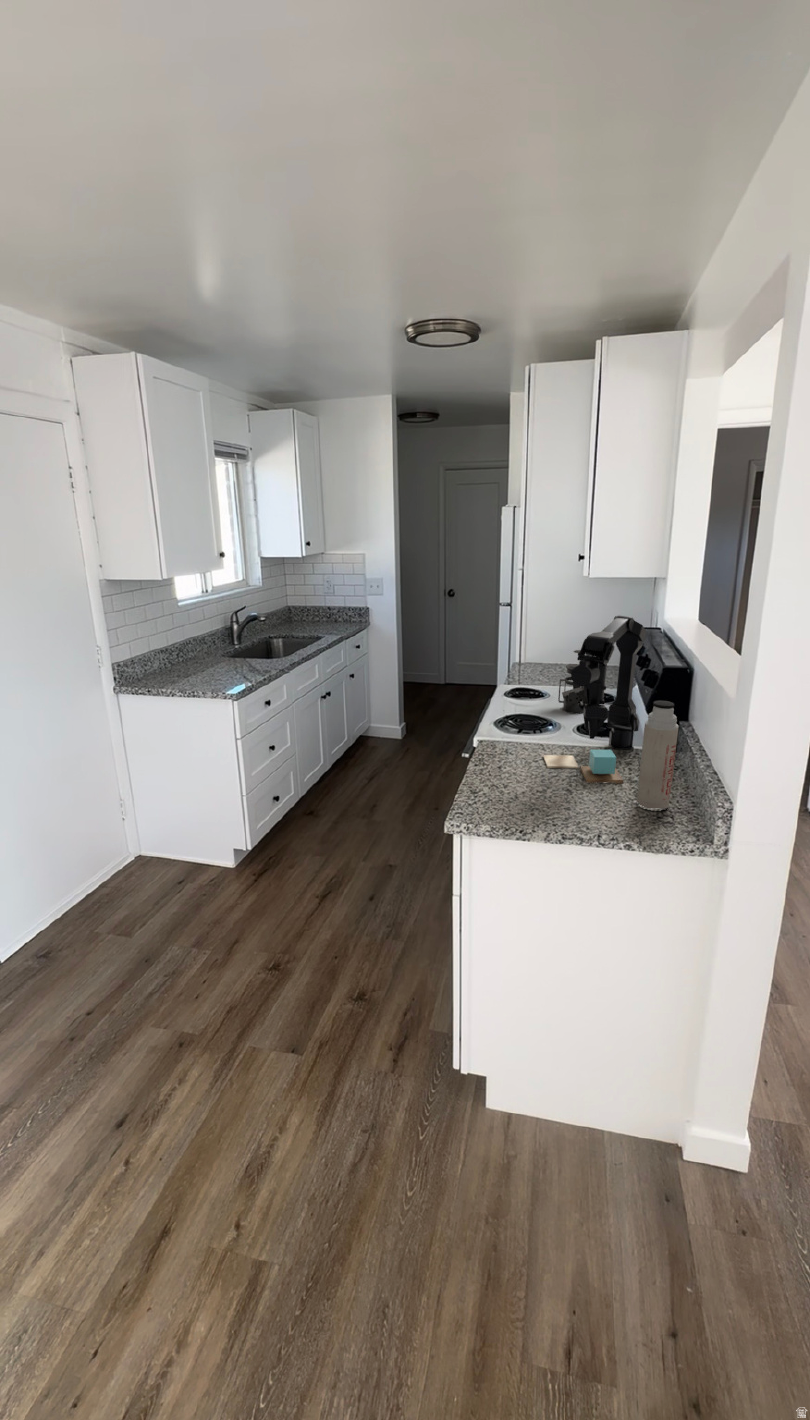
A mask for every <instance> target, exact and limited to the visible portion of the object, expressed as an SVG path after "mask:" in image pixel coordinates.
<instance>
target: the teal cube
mask: <svg viewBox="0 0 810 1420" xmlns="http://www.w3.org/2000/svg"><path fill="white" fill-rule="evenodd" d="M616 764H617V756H616V755H615V753H614V752H613V750H612V749H589V759H588V766H589V767H590V769H591V770H592V772H593V774H615V768H616Z"/></svg>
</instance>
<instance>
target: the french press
mask: <svg viewBox="0 0 810 1420" xmlns="http://www.w3.org/2000/svg"><path fill="white" fill-rule="evenodd" d="M580 650H581V649H577V650H576V649H575V650H573V653H575V654H576V653H577V657H578V656H579V653H580ZM579 662H580V660H577V663H572V664H571V663H570V664H567V665H566V666H565V668H566V673H567V674H569V675H571V672H572V671H573V669H574V668H575V667H576V666H579ZM562 682H564V690H563V692H565V691H566V687H567V686H566V685H569V686H572V689H575V688H580V687H581V686H578V685H576V684H575V683H574V682H573V681H572V678H571V676H567V677H565V678H561V679H559V685H558V699H557V700H558V703H560V704H561V703H562V704H563V705H562V711H563V712H566V713H569V714H576V715H580V714H582V715H583V710H582V709H581V708H580V707H579V706H578V703H574V704H571V705H570V706H566V705H565V702H564V700H560V699H561V687H562V686H561V685H562ZM580 703H581V702H580Z"/></svg>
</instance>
